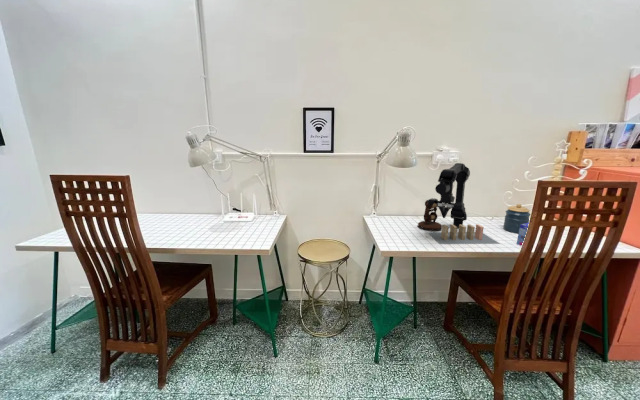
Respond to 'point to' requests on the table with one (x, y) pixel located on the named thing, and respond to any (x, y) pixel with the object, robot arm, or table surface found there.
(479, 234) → the domino
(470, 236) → the domino
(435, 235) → the mat
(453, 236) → the domino
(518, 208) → the canister
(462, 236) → the domino
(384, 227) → the table surface
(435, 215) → the brown animal figurine
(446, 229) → the domino
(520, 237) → the ink cartridge box
